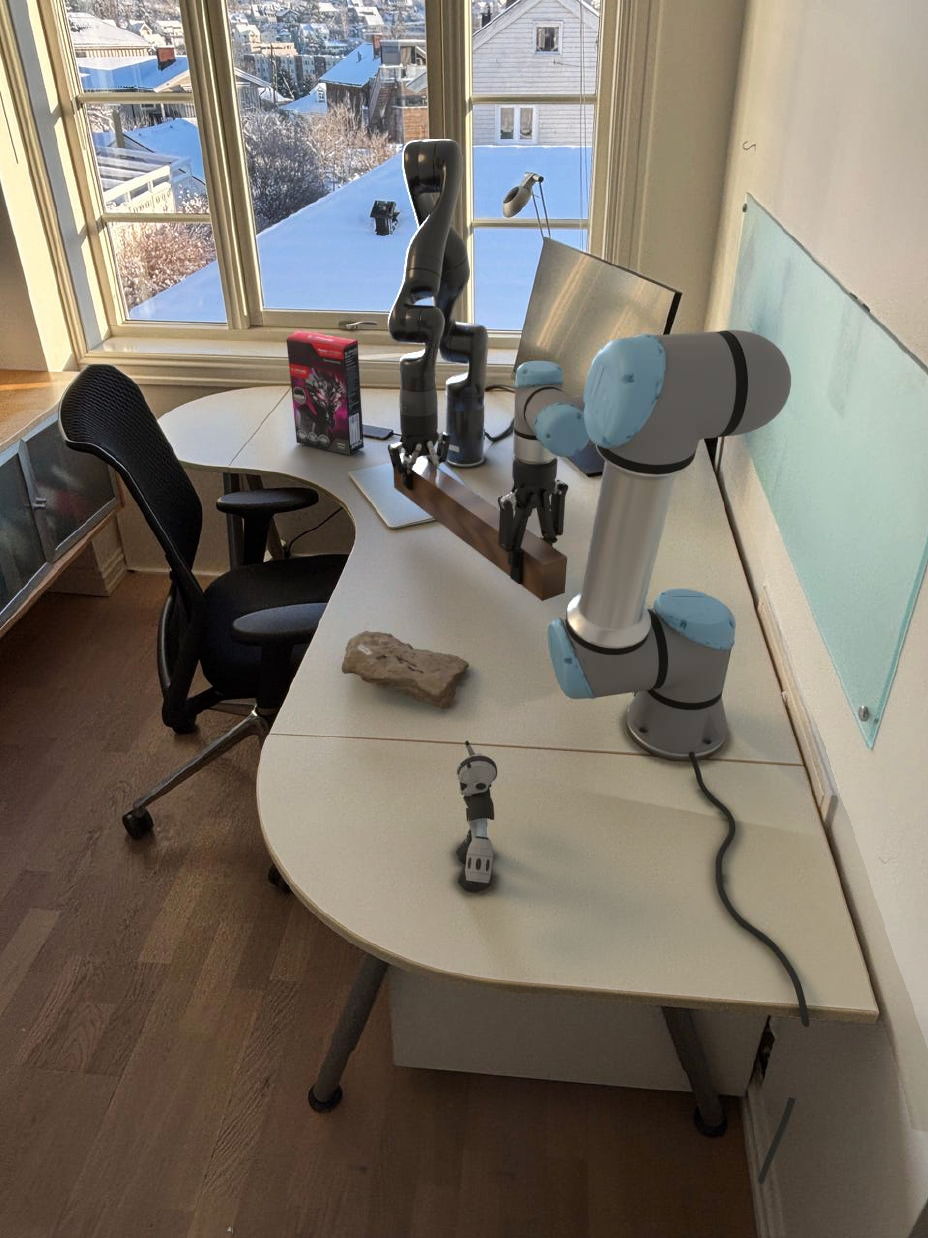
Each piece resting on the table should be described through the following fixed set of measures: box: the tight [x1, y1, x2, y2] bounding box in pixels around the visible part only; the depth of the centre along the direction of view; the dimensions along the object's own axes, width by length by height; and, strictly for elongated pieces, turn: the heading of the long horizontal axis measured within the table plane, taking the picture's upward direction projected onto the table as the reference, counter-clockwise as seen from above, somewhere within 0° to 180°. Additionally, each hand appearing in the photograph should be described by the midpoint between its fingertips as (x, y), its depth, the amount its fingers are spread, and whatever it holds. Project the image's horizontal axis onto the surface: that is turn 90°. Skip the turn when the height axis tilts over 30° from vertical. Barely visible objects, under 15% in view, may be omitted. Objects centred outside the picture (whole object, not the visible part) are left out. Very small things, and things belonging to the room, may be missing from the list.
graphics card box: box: [285, 330, 365, 456], centre depth 225 cm, size 17×7×27 cm, turn 62°
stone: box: [341, 630, 470, 709], centre depth 151 cm, size 21×15×6 cm
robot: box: [455, 740, 498, 893], centre depth 114 cm, size 20×5×20 cm, turn 3°
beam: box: [392, 452, 568, 602], centre depth 178 cm, size 53×5×7 cm, turn 33°
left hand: (420, 485), depth 192 cm, fingers closed on beam, 5 cm apart
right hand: (529, 576), depth 167 cm, fingers closed on beam, 5 cm apart
